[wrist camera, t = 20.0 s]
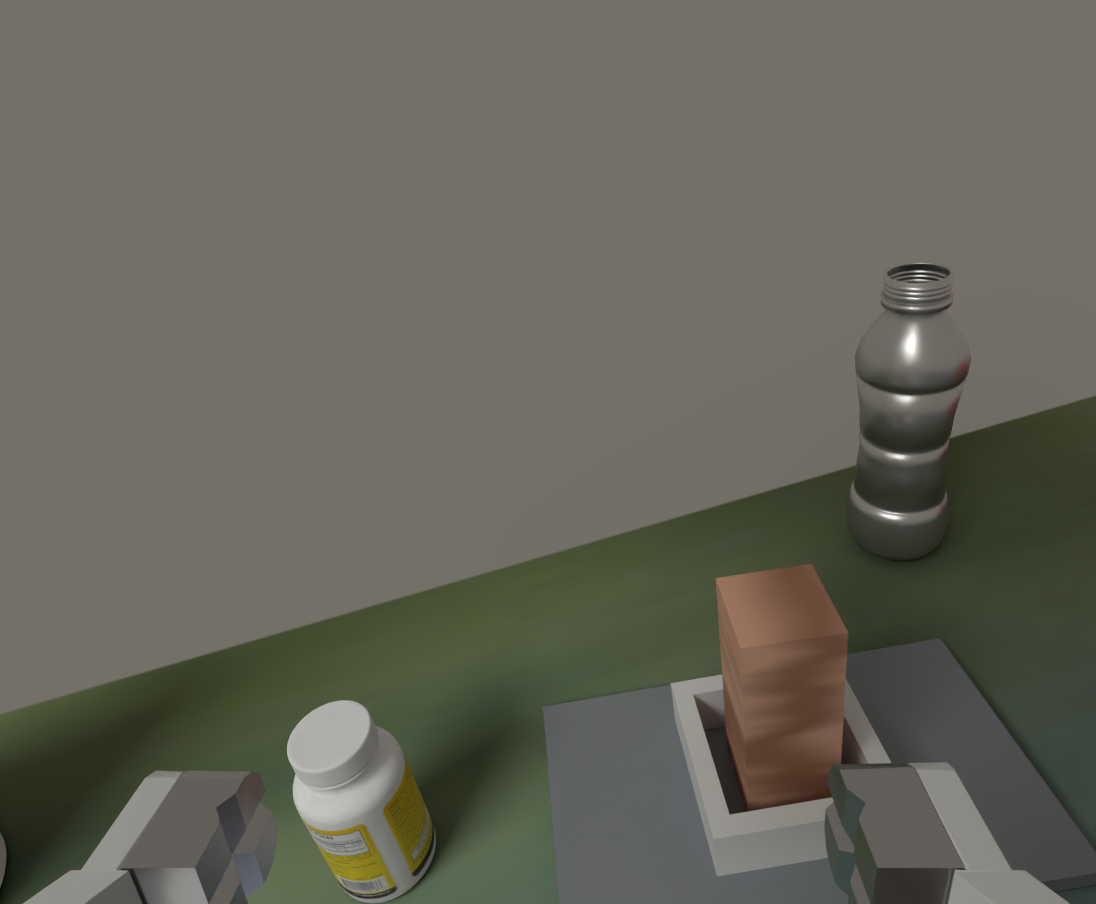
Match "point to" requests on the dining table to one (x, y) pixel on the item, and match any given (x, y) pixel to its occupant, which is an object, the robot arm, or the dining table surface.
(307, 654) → the dining table surface
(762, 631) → the terracotta peg
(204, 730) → the dining table surface
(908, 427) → the plastic bottle
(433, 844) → the supplement bottle
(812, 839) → the collar board
